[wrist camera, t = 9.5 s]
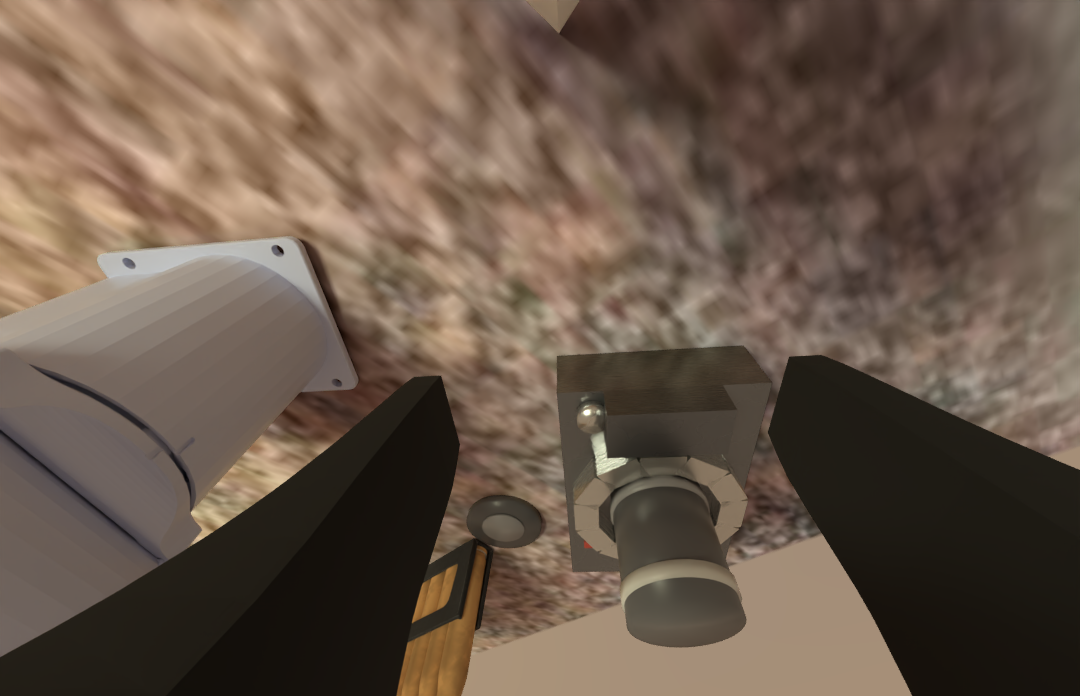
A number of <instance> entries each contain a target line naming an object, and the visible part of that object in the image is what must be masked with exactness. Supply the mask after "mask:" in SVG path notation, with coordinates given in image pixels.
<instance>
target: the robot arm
mask: <svg viewBox="0 0 1080 696" xmlns="http://www.w3.org/2000/svg"><path fill="white" fill-rule="evenodd" d="M277 245H278V246H280V247H281V248H282V249H283V250H284V254H282V253H281V252H280V251H279V250H278V248H277ZM132 261H133V262H134V263H135V264H134V263H133V262H132ZM97 262H98V264H99V266H100V267H101V269H102V270H103V272H104V273H105V275H106V276H107V277H108V278H107V279H104V280H102V281H99V282H96V283H94V284H91V285H88V286H86V287H83V288H80V289H78V290H75V291H72V292H70V293H67V294H64V295H62V296H59V297H56V298H54V299H51V300H48V301H46V302H43V303H40V304H38V305H35V306H32V307H30V308H27V309H24V310H22V311H19V312H16V313H14V314H11V315H8V316H6V317H3V318H0V696H397V691H398V686H399V681H400V676H401V671H402V667H403V662H404V657H405V653H406V648H407V643H408V639H409V634H410V629H411V625H412V620H413V616H414V613H415V609H416V605H417V601H418V598H419V594H420V591H421V587H422V584H423V581H424V578H425V575H426V571H427V568H428V565H429V562H430V559H431V555H432V552H433V549H434V546H435V543H436V539H437V536H438V533H439V530H440V527H441V523H442V520H443V517H444V513H445V510H446V507H447V504H448V500H449V497H450V494H451V490H452V487H453V481H454V476H455V471H456V465H457V459H458V453H459V447H460V443H459V439H458V436H457V432H456V429H455V425H454V421H453V418H452V414H451V410H450V407H449V403H448V399H447V396H446V392H445V388H444V385H443V381H442V377H441V376H424V377H413V378H412V379H411V380H409V381H408V382H407V383H405V384H404V385H403V386H402V387H400V388H399V389H398V390H397V391H396V392H394V393H393V394H392V395H391V396H390V397H389V398H387V399H386V400H385V401H384V402H383V403H382V404H380V405H379V406H378V407H377V408H376V409H375V410H373V411H372V412H371V413H370V414H369V415H368V416H366V417H365V418H364V419H363V420H362V421H360V422H359V423H358V424H357V425H356V426H354V427H353V428H352V429H351V430H350V431H349V432H347V433H346V434H345V435H344V436H343V437H341V438H340V439H339V440H338V441H337V442H335V443H334V444H333V445H332V446H330V447H329V448H328V449H327V450H325V451H324V452H323V453H321V454H320V455H319V456H318V457H316V458H315V459H314V460H312V461H311V462H310V463H309V464H307V465H306V466H305V467H304V468H302V469H301V470H300V471H298V472H297V473H296V474H295V475H293V476H292V477H291V478H290V479H288V480H287V481H286V482H284V483H283V484H282V485H280V486H279V487H278V488H276V489H275V490H273V491H272V492H271V493H269V494H268V495H266V496H265V497H264V498H262V499H261V500H259V501H258V502H257V503H255V504H254V505H252V506H251V507H249V508H248V509H247V510H245V511H244V512H242V513H241V514H239V515H238V516H236V517H235V518H233V519H232V520H230V521H229V522H227V523H226V524H224V525H223V526H222V527H220V528H219V529H217V530H216V531H214V532H213V533H211V534H209V535H208V536H206V537H205V538H203V539H202V540H200V541H199V542H197V543H195V544H194V545H192V546H190V547H189V548H188V546H189V545H190V544H191V543H192V542H193V541H194V539H195V538H196V537H197V536H198V535H199V533H200V532H201V531H202V529H201V527H200V526H199V525H198V524H197V523H196V522H195V520H194V519H193V517H192V515H191V511H192V510H193V509H194V508H195V507H196V506H197V505H198V504H199V503H200V501H201V500H202V499H203V498H204V497H205V496H206V495H207V494H208V493H209V492H210V491H211V489H212V488H213V487H214V486H215V485H216V484H217V483H218V482H219V481H220V480H221V478H222V477H223V476H224V475H225V474H226V473H227V472H228V471H229V470H230V469H231V468H232V466H233V465H234V464H235V463H236V462H237V461H238V460H239V459H240V458H241V457H242V455H243V454H244V453H245V452H246V451H247V450H248V449H249V448H250V447H251V446H252V444H253V443H254V442H255V441H256V440H257V439H258V438H259V437H260V436H261V435H262V434H263V432H264V431H265V430H266V429H267V428H268V427H269V426H270V425H271V424H272V423H273V421H274V420H275V419H276V418H277V417H278V416H279V415H280V414H281V413H282V412H283V411H284V409H285V408H286V407H287V406H288V405H289V404H290V403H291V402H292V401H293V400H294V398H295V397H296V396H297V395H298V394H299V393H300V392H314V391H333V390H350V389H353V388H355V387H356V385H357V384H358V382H359V380H358V376H357V374H356V372H355V369H354V367H353V364H352V362H351V359H350V357H349V354H348V352H347V350H346V347H345V345H344V342H343V340H342V337H341V335H340V332H339V330H338V328H337V325H336V323H335V320H334V318H333V315H332V313H331V310H330V308H329V306H328V303H327V301H326V298H325V296H324V293H323V291H322V288H321V286H320V284H319V281H318V279H317V276H316V274H315V271H314V269H313V266H312V264H311V262H310V259H309V257H308V254H307V252H306V249H305V247H304V245H303V244H302V242H301V241H300V240H299V239H297V238H295V237H292V236H285V237H273V238H262V239H250V240H239V241H227V242H216V243H204V244H193V245H182V246H170V247H159V248H147V249H136V250H124V251H113V252H107V253H104V254H101V255H99V256H98V257H97ZM336 379H338V380H340V381H341V382H342V383H341V382H338V381H337V380H336ZM768 434H769V436H770V439H771V441H772V443H773V446H774V448H775V451H776V453H777V455H778V458H779V460H780V462H781V464H782V466H783V468H784V470H785V473H786V475H787V477H788V479H789V480H790V482H791V484H792V485H793V487H794V489H795V490H796V492H797V494H798V495H799V497H800V499H801V500H802V502H803V503H804V505H805V507H806V508H807V510H808V512H809V513H810V515H811V517H812V518H813V520H814V521H815V523H816V525H817V526H818V528H819V529H820V531H821V533H822V534H823V536H824V537H825V539H826V541H827V542H828V544H829V545H830V547H831V549H832V550H833V552H834V553H835V555H836V557H837V558H838V560H839V561H840V563H841V565H842V566H843V568H844V570H845V571H846V573H847V574H848V576H849V578H850V579H851V581H852V582H853V584H854V585H855V587H856V589H857V590H858V592H859V594H860V596H861V598H862V599H863V601H864V603H865V604H866V606H867V608H868V610H869V611H870V613H871V615H872V617H873V619H874V620H875V622H876V624H877V626H878V628H879V630H880V632H881V634H882V636H883V638H884V640H885V642H886V644H887V646H888V648H889V650H890V652H891V654H892V656H893V658H894V660H895V662H896V664H897V666H898V668H899V670H900V672H901V674H902V676H903V678H904V680H905V682H906V684H907V686H908V688H909V690H910V692H911V694H912V696H1080V470H1079V469H1076V468H1074V467H1071V466H1068V465H1066V464H1064V463H1061V462H1059V461H1057V460H1055V459H1052V458H1050V457H1048V456H1045V455H1043V454H1041V453H1038V452H1036V451H1034V450H1031V449H1029V448H1027V447H1024V446H1022V445H1020V444H1017V443H1015V442H1013V441H1010V440H1008V439H1006V438H1003V437H1001V436H999V435H996V434H994V433H992V432H990V431H988V430H985V429H983V428H981V427H979V426H976V425H974V424H972V423H970V422H968V421H965V420H963V419H961V418H959V417H957V416H955V415H952V414H950V413H948V412H946V411H944V410H942V409H939V408H937V407H935V406H933V405H931V404H929V403H927V402H925V401H922V400H920V399H918V398H916V397H914V396H912V395H910V394H908V393H905V392H903V391H901V390H899V389H897V388H895V387H893V386H891V385H889V384H886V383H884V382H882V381H880V380H878V379H876V378H874V377H871V376H869V375H867V374H865V373H863V372H861V371H858V370H856V369H854V368H852V367H850V366H847V365H845V364H843V363H840V362H838V361H835V360H833V359H830V358H828V357H825V356H822V355H814V356H795V357H789V359H788V362H787V366H786V370H785V373H784V377H783V380H782V384H781V387H780V391H779V395H778V398H777V402H776V405H775V409H774V412H773V416H772V420H771V423H770V427H769V430H768Z"/></svg>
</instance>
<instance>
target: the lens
mask: <svg viewBox="0 0 1080 696" xmlns="http://www.w3.org/2000/svg"><path fill="white" fill-rule="evenodd" d="M610 498H611V502H610V515H611V521H612V523H613V525H614V530H615V537H616V545H617V553H618V561H619V569H620V576H621V585H620V596H621V604H622V609H623V611H624V613H625V615H626V623H627V629H628V631H629V632H630V634H631V635H632V636H634V637H635V638H637V639H639V640H641V641H643V642H646V643H649V644H653V645H658V646H666V647H695V646H702V645H708V644H713V643H716V642H719V641H723V640H725V639H728V638H730V637H732V636H734V635H735V634H737V633H738V632H740V631H741V630H742V629H743V627H744V626H745V624H746V616H745V614H744V610H743V607H742V604H741V601H742V597H741V594H740V591H739V588H738V585H737V582H736V580H735V577H734V575H733V574H732V573H731V572H730V571H729V567H728V565H727V562H726V559H725V556H724V553H723V550H722V548H721V545H720V542H719V539H718V536H717V533H716V530H715V528H714V525H713V522H712V519H711V516H710V513H709V512H710V508H709V504H708V501H707V498H706V495H705V493H704V491H703V490H702V489H701V488H700V485H699V483H698V482H695V481H693V480H690V479H687V478H685V477H682V476H650V477H643V478H640V479H638V480H635V481H633V482H630V483H628V484H625V485H623V486H620V487H618V488H616V489H614V490H613V491H612V493H611V494H610Z"/></svg>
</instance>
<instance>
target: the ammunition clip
mask: <svg viewBox="0 0 1080 696" xmlns="http://www.w3.org/2000/svg"><path fill="white" fill-rule="evenodd" d="M492 556H493V550H492V549H491V548H489V547H488V546H486V545H484V544H483V543H481V542H480V541H478V540H476V539H472V540H470V541H469V542H467V543H465V544H463V545H462V546H460V547H458V548H457V549H455V550H453V551H452V552H450V553H448V554H446V555H445V556H443V557H441V558H440V559H438V560H436V561H435V562H433V563H431V564H429V565H428V568H427V571H426V575H425V578H424V581H423V584H422V587H421V591H420V594H419V598H418V601H417V605H416V609H415V613H414V616H413V620H412V625H411V629H410V634H409V639H408V643H407V648H406V653H405V657H404V662H403V667H402V671H401V676H400V681H399V686H398V691H397V696H461V694H462V691H463V688H464V685H465V682H466V679H467V673H468V667H469V662H470V656H471V650H472V644H473V638H474V632H475V630H477V629H479V628H480V626H481V620H482V614H483V608H484V603H485V597H486V591H487V585H488V579H489V574H490V568H491V562H492Z"/></svg>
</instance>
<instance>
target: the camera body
mask: <svg viewBox="0 0 1080 696" xmlns="http://www.w3.org/2000/svg"><path fill="white" fill-rule="evenodd" d="M771 385H772V382H771V380H770V379H769V378H768V377H767V375H766V374H765V373H764V371H763V370H762V369H761V368H760V366H759V365H758V364H757V363H756V361H755V360H754V359H753V357H752V356H751V355H750V354H749V352H748V351H747V350H746V348H745V347H744V346H728V347H710V348H693V349H675V350H657V351H640V352H622V353H605V354H587V355H569V356H557V399H558V410H559V422H560V433H561V444H562V455H563V467H564V478H565V489H566V500H567V512H568V523H569V534H570V545H571V557H572V568H573V572H600V571H620V569H619V561H618V553H617V545H616V537H615V530H614V525H613V523H612V521H611V515H610V502H611V498H610V494H611V493H612V491H613V490H614V489H616V488H618V487H620V486H623V485H625V484H628V483H630V482H633V481H635V480H638V479H640V478H643V477H650V476H682V477H685V478H687V479H690V480H693V481H695V482H698V483H699V485H700V488H701V489H702V490H703V491H704V493H705V495H706V498H707V501H708V504H709V508H710V512H709V513H710V516H711V519H712V522H713V525H714V528H715V530H716V533H717V536H718V539H719V542H720V545H721V548H722V550H723V553H724V556H725V559H726V556H727V552H728V548H729V544H730V540H731V537H732V535H733V534H734V533H735V532H736V531H738V530H739V528H738V527H741V525H742V521H743V517H744V514H745V510H746V507H747V503H748V500H747V496H746V494H745V492H744V488H745V484H746V480H747V476H748V472H749V469H750V465H751V461H752V457H753V454H754V450H755V446H756V442H757V438H758V435H759V431H760V427H761V423H762V419H763V416H764V412H765V408H766V404H767V401H768V397H769V393H770V389H771Z"/></svg>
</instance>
